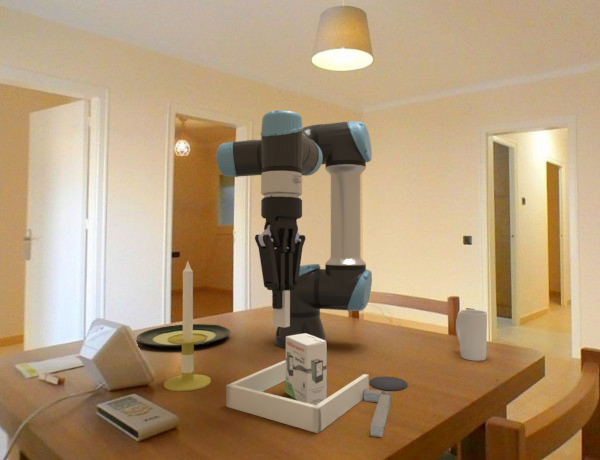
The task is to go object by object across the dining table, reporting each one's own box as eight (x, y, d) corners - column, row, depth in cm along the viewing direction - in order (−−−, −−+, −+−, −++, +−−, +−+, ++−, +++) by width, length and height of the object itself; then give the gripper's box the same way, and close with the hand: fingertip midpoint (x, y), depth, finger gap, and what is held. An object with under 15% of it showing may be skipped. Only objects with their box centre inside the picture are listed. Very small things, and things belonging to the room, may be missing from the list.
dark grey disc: (363, 385, 91) (363, 384, 91) (378, 375, 98) (378, 374, 98) (399, 393, 87) (399, 392, 87) (412, 382, 93) (412, 380, 93)
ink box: (284, 393, 87) (284, 335, 87) (304, 388, 90) (304, 332, 90) (306, 407, 80) (306, 344, 80) (328, 402, 83) (328, 340, 83)
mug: (493, 360, 110) (492, 313, 110) (471, 362, 108) (470, 314, 108) (467, 350, 119) (466, 307, 120) (446, 352, 117) (446, 308, 118)
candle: (188, 372, 100) (188, 257, 100) (220, 380, 95) (220, 258, 95) (153, 385, 92) (153, 259, 92) (187, 394, 86) (187, 261, 87)
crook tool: (350, 434, 70) (350, 423, 70) (365, 398, 85) (365, 389, 85) (381, 438, 68) (381, 427, 68) (391, 401, 83) (391, 391, 83)
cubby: (226, 406, 80) (226, 385, 80) (287, 376, 97) (287, 359, 97) (317, 433, 69) (317, 408, 69) (368, 394, 86) (368, 374, 86)
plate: (181, 328, 150) (181, 320, 150) (248, 335, 138) (248, 328, 138) (115, 346, 125) (115, 338, 125) (189, 358, 113) (189, 349, 113)
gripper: (277, 192, 71) (276, 335, 71) (317, 199, 82) (317, 322, 82) (242, 195, 75) (242, 329, 75) (285, 200, 86) (285, 318, 86)
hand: (281, 325), depth 78 cm, fingers closed
